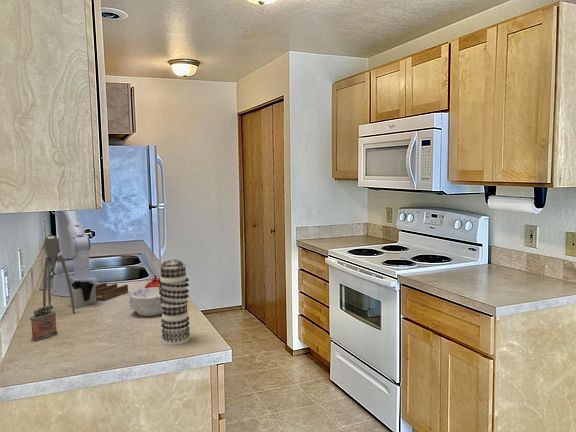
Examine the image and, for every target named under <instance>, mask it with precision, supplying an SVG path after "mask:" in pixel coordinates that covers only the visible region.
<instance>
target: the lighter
mask: <svg viewBox="0 0 576 432" xmlns="http://www.w3.org/2000/svg"><path fill="white" fill-rule="evenodd" d="M53 309H54V305H53V304H51V305H46V306H45V307H43V306H39V307H38V308H37V309H33V314H34V315H32V316H30V322H31V341H32V340H33V341H32V342H37V341H38V340H39V341H43V340H46V339H50V338H52V337H55V336H57V335H58V331H57V321H56V319H57V318H56V315H57V312H56V311H55V310H53ZM49 310H51V311H49ZM42 339H43V340H42ZM39 341H38V342H39Z"/></svg>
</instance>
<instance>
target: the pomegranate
mask: <svg viewBox="0 0 576 432" xmlns="http://www.w3.org/2000/svg"><path fill="white" fill-rule="evenodd" d="M157 277H158V276H157V275H156V274H154V275H153V277H152V279H148V280H147V279H146V282H147V281H149V282H147V284H146V285H145V286H144V288H153V287H159V285H160V284H159V283H158V281H159V280H160V277H159V278H157ZM160 282H161V280H160ZM161 288H162V286H161Z"/></svg>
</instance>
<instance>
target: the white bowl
mask: <svg viewBox="0 0 576 432" xmlns="http://www.w3.org/2000/svg"><path fill="white" fill-rule="evenodd" d="M159 291H160V290H159V287H153V288H145V287H144V288H140V289H136V290H135V289H134V290H133V291H131V292H130V293H129V308H130V309H132V310H134V311H135V312H136V314H138V315H139V316H142V317H143V316H144V317H151V316H152V317H153V316H158V315H162V313H163V311H162V306H161V304H160V302H161V301H160V297H161V295H160V294H159Z"/></svg>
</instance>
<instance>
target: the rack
mask: <svg viewBox="0 0 576 432" xmlns="http://www.w3.org/2000/svg"><path fill="white" fill-rule="evenodd" d="M94 285H95V289H96V301H102V302H103V301H104V302H105V301H108V300H111V299H113V298H117V297H119V296H122V295H125V294H128V293H129V286H128V285H129V284H123V285H121V286H118V283H113V284H110V285H108V282H102V283H98V284H94Z"/></svg>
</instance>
